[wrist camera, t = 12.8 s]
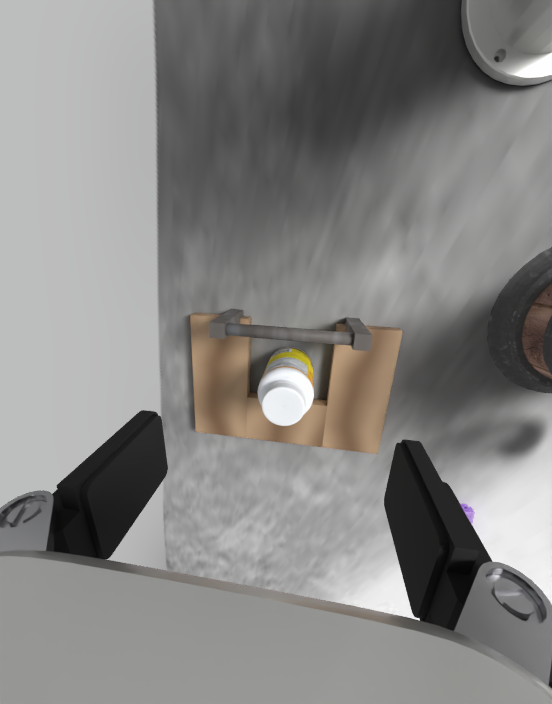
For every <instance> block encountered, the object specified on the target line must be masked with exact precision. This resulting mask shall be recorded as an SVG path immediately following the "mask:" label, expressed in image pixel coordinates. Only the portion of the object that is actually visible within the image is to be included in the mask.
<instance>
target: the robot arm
mask: <svg viewBox="0 0 552 704" xmlns="http://www.w3.org/2000/svg"><path fill="white" fill-rule="evenodd" d="M461 19H462V31H463V35H464V39H465V42H466V46H467V48H468V50H469V52H470V54H471V56H472V58H473V60H474V61H475V63H476V64H477V65H478V66H479V67H480V68H481V70H482V71H483V72H485V73H486V74H487V75H489V76H490V77H492V78H493V79H495V80H498V81H500V82H503V83H506V84H511V85H520V86H524V85H533V84H539V83H542V82H545V81H549V80H552V0H462V7H461ZM495 61H496V62H495ZM167 470H168V466H167V458H166V450H165V443H164V435H163V427H162V419H161V417H160V416H158V414H157V413H156V412H153V411H144V410H143V411H140V412H139V413H138V414H136V415H135V416H134V417H133V418H132V419H131V420H130V421H129V422H127V423H126V424H125V425H124V426H123V427H122V428H121V429H120V430H119V431H117V432H116V433H115V434H114V435H113V436H112V437H111V438H109V439H108V440H107V441H106V442H105V443H104V444H103V445H102V446H101V447H99V448H98V449H97V450H96V451H95V452H94V453H93V454H92V455H90V456H89V457H88V458H87V459H86V460H85V461H84V462H82V463H81V464H80V465H79V466H78V467H77V468H76V469H75V470H74V471H72V472H71V473H70V474H69V475H68V476H67V477H66V478H64V479H63V480H62V481H61V482H60V483H59V484H58V485H57V488H58V489H57V490H56V491H55V492H54V493H53V494H51V493H50V492H48V491H34V492H29V493H26V494H24V495H21V496H19V497H17V498H15V499H13V500H11V501H9V502H8V503H7V504H5V505H4V506H2V507H1V508H0V704H552V605H551V603H550V601H549V600H548V599H547V597H546V596H545V594H544V593H543V592H542V590H541V589H540V588H539V587H538V586H537V585H536V584H535V583H534V582H533V581H531V580H530V579H529V578H528V577H526V576H525V575H524V574H522V573H521V572H519V571H517V570H516V569H514V568H512V567H510V566H508V565H505V564H502V563H499V562H492V560H491V558H490V556H489V555H488V553H487V551H486V549H485V547H484V546H483V544H482V542H481V540H480V539H479V537H478V535H477V533H476V532H475V530H474V528H473V526H472V525H471V523H470V521H469V519H468V517H467V516H466V514H465V512H464V510H463V509H462V507H461V505H460V503H459V502H458V500H457V498H456V496H455V494H454V493H453V491H452V489H451V488H450V486H449V485H448V484H447V483H445V482H442V480H441V479H440V477H439V475H438V473H437V471H436V469H435V468H434V466H433V464H432V462H431V460H430V458H429V457H428V455H427V453H426V451H425V449H424V447H423V446H422V444H421V442H419V441H412V440H402V442H401V443H397V444H396V447H395V451H394V456H393V460H392V465H391V470H390V474H389V479H388V483H387V488H386V492H385V497H384V506H385V511H386V514H387V518H388V522H389V526H390V530H391V533H392V537H393V541H394V545H395V549H396V552H397V556H398V560H399V564H400V568H401V571H402V575H403V579H404V583H405V587H406V591H407V594H408V598H409V602H410V606H411V610H412V613H413V615H414V616H415V617H417V618H420V621H418V620H415V619H411V618H407V617H402V616H398V615H393V614H388V613H384V612H379V611H374V610H369V609H365V608H360V607H355V606H351V605H345V604H340V603H335V602H330V601H325V600H320V599H314V598H309V597H304V596H299V595H294V594H289V593H283V592H278V591H273V590H268V589H263V588H257V587H252V586H247V585H241V584H236V583H231V582H225V581H220V580H215V579H209V578H204V577H198V576H193V575H188V574H182V573H177V572H171V571H166V570H160V569H155V568H149V567H143V566H137V565H132V564H126V563H121V562H116V561H110V560H105V559H108V558H109V557H110V556H111V555H112V553H113V552H114V551H115V549H116V548H117V546H118V545H119V544H120V542H121V541H122V539H123V538H124V536H125V535H126V533H127V532H128V530H129V528H130V527H131V526H132V525H133V523H134V522H135V520H136V518H137V517H138V516H139V514H140V513H141V511H142V510H143V508H144V507H145V506H146V504H147V503H148V501H149V500H150V498H151V497H152V495H153V494H154V492H155V491H156V489H157V488H158V487H159V485H160V484H161V482H162V481H163V479H164V478H165V476H166V474H167Z"/></svg>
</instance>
